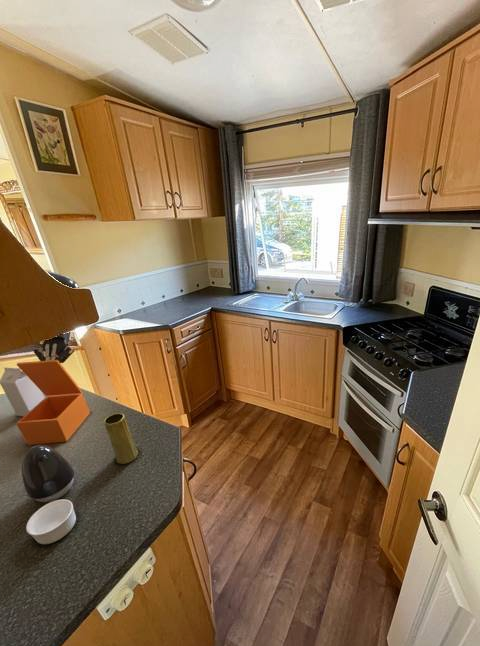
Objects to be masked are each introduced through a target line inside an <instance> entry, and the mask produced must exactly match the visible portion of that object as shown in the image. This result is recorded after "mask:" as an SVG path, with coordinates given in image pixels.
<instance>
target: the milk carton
mask: <svg viewBox="0 0 480 646" xmlns="http://www.w3.org/2000/svg"><path fill="white" fill-rule="evenodd" d="M3 369H4V372H3V374H2V375H1V378H0V386H1V388H2V390H3V392H4V394H5V395H6V398H7V399H8V400H9V404H10V405H11V407H12V409H13V411H14V413H15V414H16V417H24V416H25V415H26V414H27V413H28V412H30V411H31V410H32V409H33V408H34V407H35V406H36V405H38V404H39V403H40V402H41V401H42V400H43V399H44V398H45V395H44V393H43V392H42V391H41V390H40V389H39V388H38V387H37V386H36V385H35V384H34V383H33V382H32V381H31V380H30V379H29V377H28V376H27V375H26V374H25V373H24V372H23V371H22V370H21V369H20V368H19V367H5V366H4V367H3Z"/></svg>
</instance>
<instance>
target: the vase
mask: <svg viewBox="0 0 480 646" xmlns="http://www.w3.org/2000/svg"><path fill="white" fill-rule="evenodd" d="M103 425H104V426H105V429H106V432H107V434H108V437H109V441H110V444H111V447H112V449H113V453H114V455H115V461H116V463H117V464H121V465H125V464H129V463H131V462H133V461H134V460H135V459H136V458H137V457H138V455H139V451H138V448H137V446H136V444H135V442H134V439H133V437H132V434H131V431H130V429H129V425H128V422H127V420H126V416H125V414H124V413H121V412H115V413H112V414H110V415H108V416H106V417H105V418H104V420H103Z"/></svg>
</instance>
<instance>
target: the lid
mask: <svg viewBox="0 0 480 646" xmlns="http://www.w3.org/2000/svg"><path fill="white" fill-rule="evenodd" d="M15 365H16V366H17V368H20V370H21V371H23V372H24V373H25V374H26V375H27V376H28V377H29V379H30V380H31V381H32V382H33V383H34V384H35V385H36V386H37V387H38V388H39V389H40V390H41V392H42V394H43V395H44V397H47V396H57V395H70V394H83V391H82V389H81V387H79V385H78V384H77V383H76V381H75V380H74V379H73V378H72V376H71V375H70V374H69V372H68V371H67V370H66V369H65V367H64V366H63V365H62V363H60V362H59V361H58V360H49V361H40V360H39V361H23V362H17V363H16V364H15Z"/></svg>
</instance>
